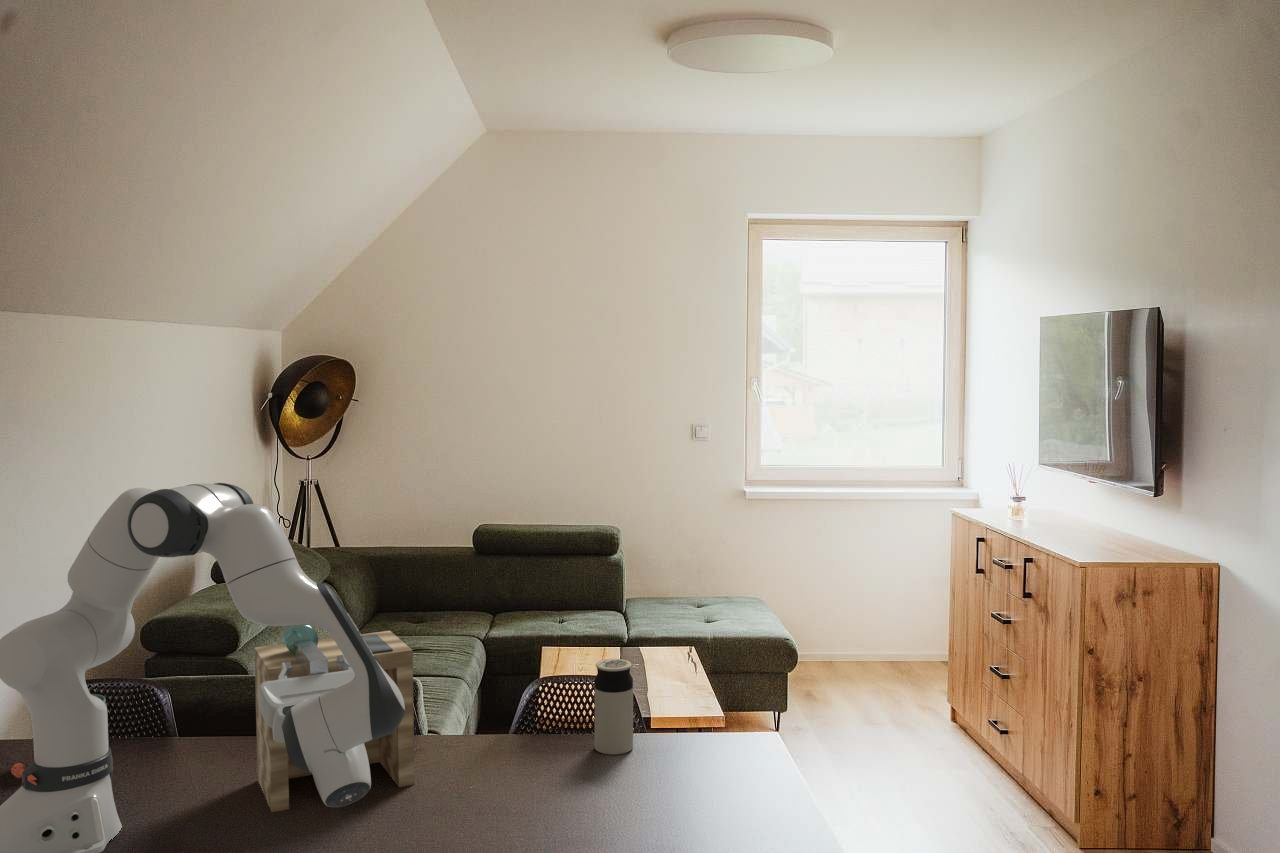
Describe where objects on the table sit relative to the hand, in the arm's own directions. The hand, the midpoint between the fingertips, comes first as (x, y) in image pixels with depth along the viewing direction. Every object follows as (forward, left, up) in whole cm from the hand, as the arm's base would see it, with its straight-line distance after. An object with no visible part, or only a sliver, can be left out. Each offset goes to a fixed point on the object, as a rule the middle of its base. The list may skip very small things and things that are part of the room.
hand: (313, 661), depth 184 cm
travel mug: (+58, -18, -28) cm, 67 cm away
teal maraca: (+2, +5, -2) cm, 6 cm away
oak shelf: (+10, +10, -28) cm, 31 cm away
